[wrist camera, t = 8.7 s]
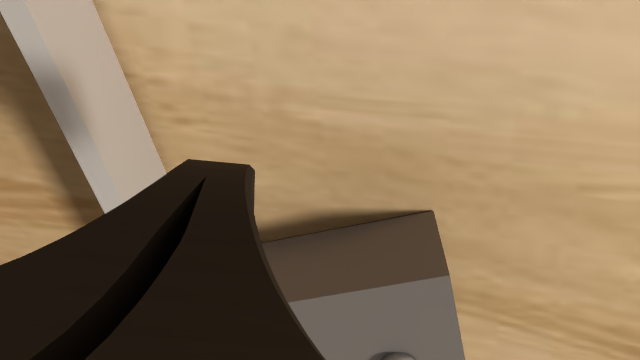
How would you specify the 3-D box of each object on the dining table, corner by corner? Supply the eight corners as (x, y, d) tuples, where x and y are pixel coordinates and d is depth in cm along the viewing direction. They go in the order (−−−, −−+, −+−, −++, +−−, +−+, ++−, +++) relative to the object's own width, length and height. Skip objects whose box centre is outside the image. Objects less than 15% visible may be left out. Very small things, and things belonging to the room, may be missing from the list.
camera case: (233, 350, 26) (213, 434, 22) (187, 257, 23) (156, 334, 20) (453, 316, 25) (473, 400, 21) (433, 210, 22) (452, 284, 18)
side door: (203, 259, 23) (181, 320, 20) (178, 264, 23) (152, 325, 20) (45, -107, 16) (-26, -101, 13) (11, -97, 16) (-68, -89, 13)
